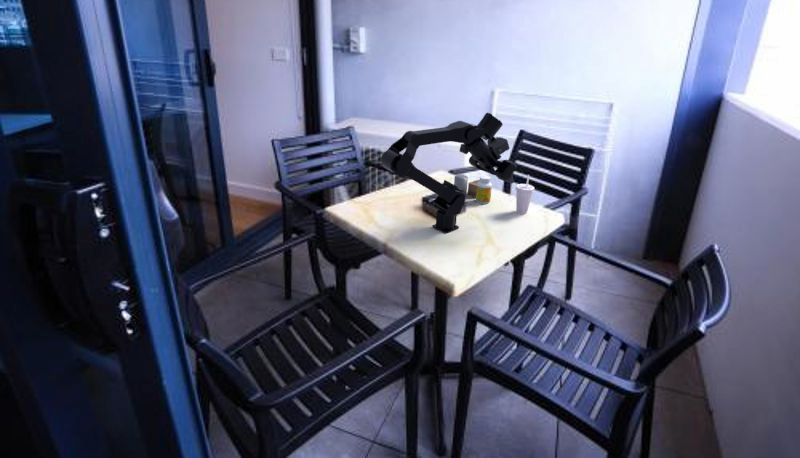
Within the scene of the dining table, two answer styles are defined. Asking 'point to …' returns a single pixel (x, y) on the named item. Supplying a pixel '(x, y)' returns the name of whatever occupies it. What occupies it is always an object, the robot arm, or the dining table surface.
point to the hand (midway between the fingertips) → (503, 178)
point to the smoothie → (523, 197)
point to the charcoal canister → (461, 182)
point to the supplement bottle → (484, 190)
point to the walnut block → (473, 188)
